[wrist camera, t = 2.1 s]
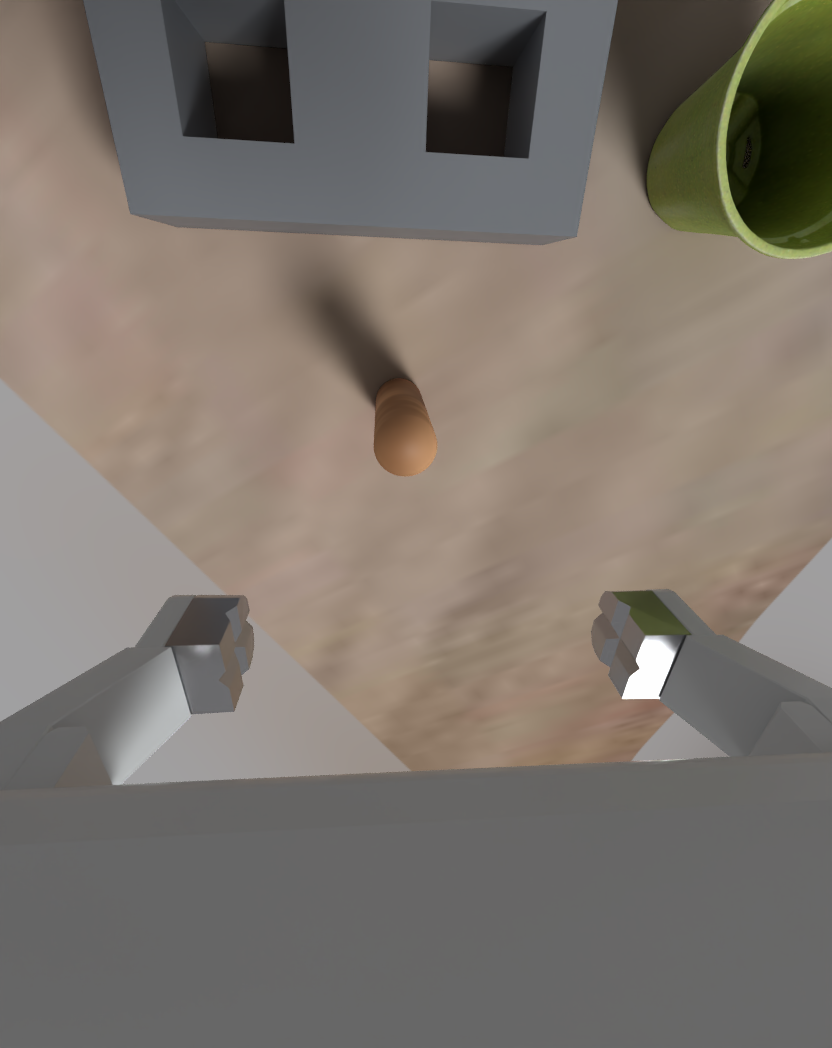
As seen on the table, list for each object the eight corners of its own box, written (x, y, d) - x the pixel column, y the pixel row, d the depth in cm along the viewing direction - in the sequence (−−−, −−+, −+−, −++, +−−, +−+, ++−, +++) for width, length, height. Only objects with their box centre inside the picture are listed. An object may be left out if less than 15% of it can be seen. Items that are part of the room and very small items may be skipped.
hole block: (579, -10, 20) (633, -91, 16) (542, 245, 25) (576, 236, 21) (125, -54, 19) (48, -156, 15) (177, 227, 24) (130, 213, 19)
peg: (422, 378, 28) (439, 415, 20) (421, 425, 30) (435, 476, 22) (375, 377, 28) (373, 414, 20) (375, 424, 29) (374, 476, 22)
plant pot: (615, 285, 26) (710, 285, 19) (610, 75, 22) (732, -35, 14) (774, 241, 26) (937, 223, 18) (802, 17, 21) (1034, -130, 14)
